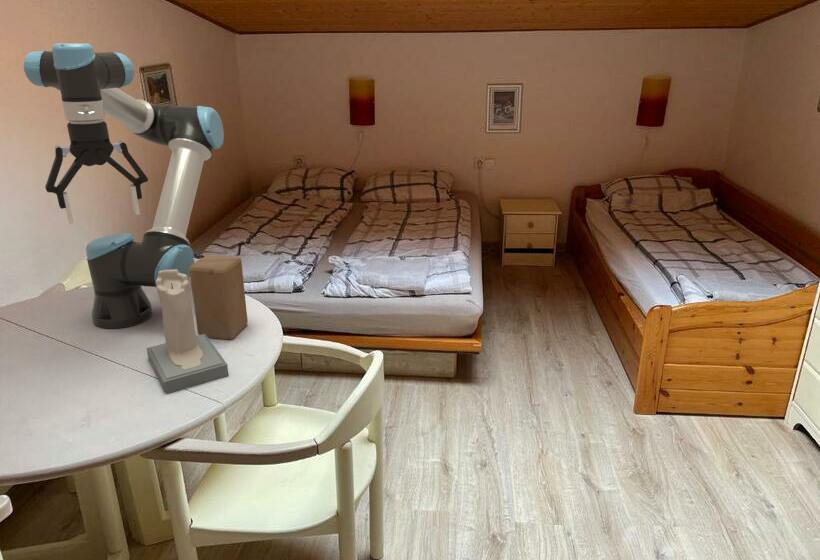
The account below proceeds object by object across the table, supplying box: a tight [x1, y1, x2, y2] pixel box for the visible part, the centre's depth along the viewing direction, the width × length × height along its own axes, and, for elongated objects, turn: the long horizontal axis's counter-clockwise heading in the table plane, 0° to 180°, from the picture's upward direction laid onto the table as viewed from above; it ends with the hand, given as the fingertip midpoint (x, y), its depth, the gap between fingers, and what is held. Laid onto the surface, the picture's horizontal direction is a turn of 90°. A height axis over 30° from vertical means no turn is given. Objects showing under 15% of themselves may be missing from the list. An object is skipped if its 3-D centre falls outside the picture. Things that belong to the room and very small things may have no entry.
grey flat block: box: [146, 334, 229, 394], centre depth 139 cm, size 18×14×3 cm
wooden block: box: [189, 254, 249, 340], centre depth 153 cm, size 10×10×20 cm
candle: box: [155, 269, 203, 369], centre depth 135 cm, size 7×14×20 cm, turn 32°
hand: (104, 217), depth 133 cm, fingers open, 13 cm apart
